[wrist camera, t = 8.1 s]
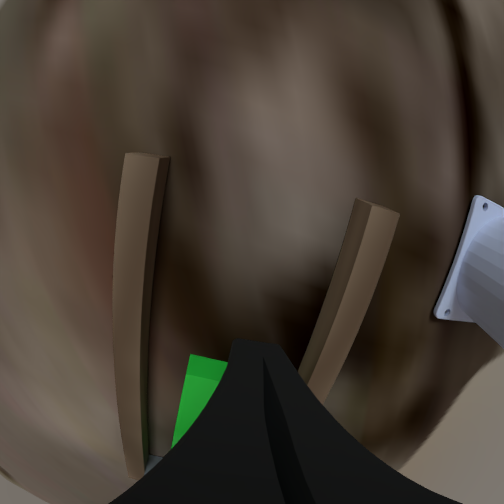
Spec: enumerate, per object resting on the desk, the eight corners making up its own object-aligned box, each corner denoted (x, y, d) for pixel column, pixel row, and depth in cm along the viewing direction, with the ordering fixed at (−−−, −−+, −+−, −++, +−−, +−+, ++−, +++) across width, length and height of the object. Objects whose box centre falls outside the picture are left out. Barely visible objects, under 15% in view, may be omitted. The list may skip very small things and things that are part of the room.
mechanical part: (239, 465, 21) (241, 544, 14) (170, 453, 21) (157, 533, 13) (288, 371, 18) (310, 481, 10) (191, 351, 17) (168, 466, 9)
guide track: (381, 205, 14) (411, 218, 11) (264, 480, 22) (266, 506, 19) (140, 152, 13) (116, 153, 10) (133, 460, 21) (126, 486, 18)
